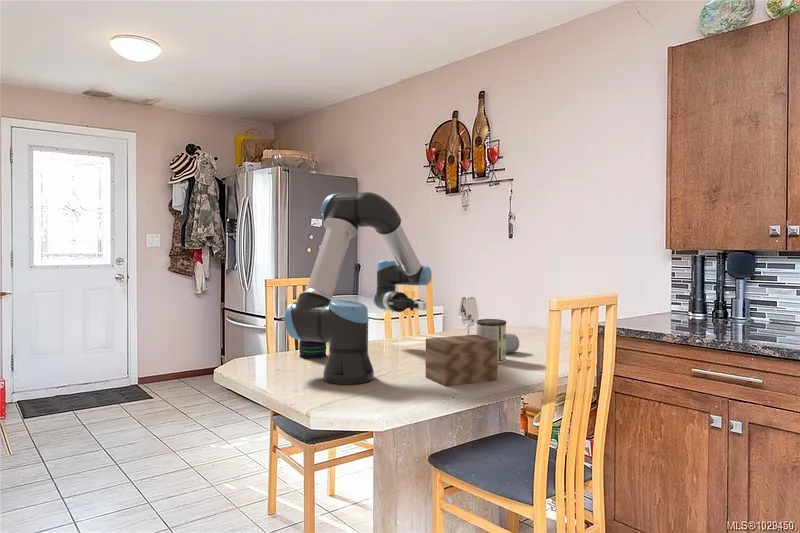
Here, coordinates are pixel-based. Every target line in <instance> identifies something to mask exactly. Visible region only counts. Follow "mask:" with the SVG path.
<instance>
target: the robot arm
mask: <svg viewBox="0 0 800 533" xmlns="http://www.w3.org/2000/svg"><path fill="white" fill-rule="evenodd" d="M396 209H397V208H395V207H394V205H392V204H391V203H390V202H389V201H388V200H387V199H385V198H384V197H383V196H381V195H380V194H377V193H374V192H373V191H372V192H370V191H365V192H346V193H345V192H337V193H332V194H329V195H327V197H326V198H325V199H324V200H323V202H322V205H321V209H320V212H321V214H320V217H321V221H322V223H323V227H324V229H325V233H324V236H323V238H322V242H321V244H320V247H319V250H318V254H317V257H316V259H315V262H314V264H313V265H314V266H313V269H312V271H311V274H310V277H309V281H308V284H307V286H306V290H304V291H302V292H301V293H299V294H298V297H297V301H294V302H291V303H289V304H288V305H287V307H286V309H285V312H284V317H283V318H284V319H283V321H284V322H283V323H284V326H285V330H286V332H287V334H288V336H290V337H291V338H292V339H293V340H297V341H300V340H302V341H316V342H326V343H328V345H329V346H328V347H329V352H328V356H327V360H326V362H325V366H324V369H323V374H322V375H323V376H322V377H323V378H322V379H323V381H325V382H327V383H331V384H334V385H335V384H336V385H359V384H364V383H365V384H366V383H369V382H371V381H373V380H374V378H375V376H374V375H375V374H374V373H375V372H374V368H373V365H372V362H371V359H370V355H369V310H368V307H367V306H366V305H365V304H364V303H362V302H359V301H352V300H343V299H333V295H334V292H335V289H336V286H337V283H338V279H339V276H340V274H341V273H340V272H341V270H342V266H343V263H344V260H345V256H346V253H347V250H348V247H349V244H350V242H351V238H354V237H355V236H357V233H358V230H359V228H361V227H362V228H365V227H370V228H373V229H374V230H375V232H376V233H377V234H379V235H381V236H382V238H383V240H384V241H385V243H386V245H387V246H388V249H389V250H390V252H391V254H392V256H393V258H394V259H395V260H379V261H378V262H377V267H376V291H375V292H374V294H373V296H372V302H373V304H374V305H375V307H377V308H379V309H380V310H386V311H387V310H388V311H391V312H392V313H394V312H396V313H403V312H404V311H405V310H407V309H409V310H410V311H414V310H419V311H427V302H425V301H424V300H421V299H418V298H417V299H414V300H413V298H411V297H408V296H407V294H406V293H404V292H400V291H397V290H396V289H397V288H396V286H398V285H404V286H419V287H420V286H427V285H429V284H431V280H432V269H431V268H430V267H429V266H427V265H422V264H421V263H420V261H419V259H418V256H417V255H416V252H415V251H414V248H413V247H412V244H411V243H410V240H409V239H408V236H407V234H406V232H405V231H404V228H403V226H402V218H401V216H400V214H399V212H398V211H397V210H396Z"/></svg>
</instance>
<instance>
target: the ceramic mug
mask: <svg viewBox="0 0 800 533" xmlns="http://www.w3.org/2000/svg"><path fill="white" fill-rule="evenodd" d="M519 347H520V340H519V337H518V336H517V335H516V334H515V333H514V334H513V333H511V332H510V333H506V354H510V353H515V352H516V351H517V352H518V349H519Z"/></svg>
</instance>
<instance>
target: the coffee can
mask: <svg viewBox="0 0 800 533" xmlns="http://www.w3.org/2000/svg"><path fill="white" fill-rule="evenodd" d="M506 334H507V320H505V319H498V318H497V319H496V318H484V319H483V318H481V319H478V320H477V322H476V335H479V336H483V337H487V338H491V339H494V340H498V359H497V364H503V363H505V362H507V358H506V357H507V353H506Z"/></svg>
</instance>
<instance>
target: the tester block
mask: <svg viewBox="0 0 800 533" xmlns="http://www.w3.org/2000/svg"><path fill="white" fill-rule="evenodd" d="M497 359H498V340H494V339H491V338H487V337H483V336H479V335H477V334H469V335H467V334H465V335H453V336H451V335H450V336H440V337H427V338H425V378H426V379H429V380H430V381H432V382H434V381H435V383H437V384H439V385H441V386H444V387H451V386H452V387H453V386H459V385H467V384H469V385H470V384H477V383H484V382H492V381H498V363H497Z"/></svg>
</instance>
